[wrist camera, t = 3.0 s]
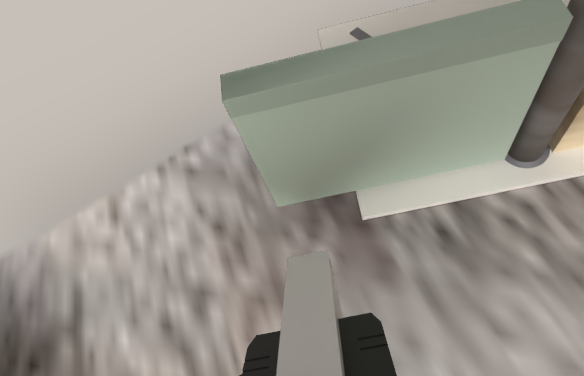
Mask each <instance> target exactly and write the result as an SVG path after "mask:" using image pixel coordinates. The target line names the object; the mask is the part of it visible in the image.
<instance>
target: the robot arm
mask: <svg viewBox="0 0 584 376" xmlns="http://www.w3.org/2000/svg"><path fill="white" fill-rule="evenodd" d="M240 376H397V375H396V372H395V368H394V365H393V361H392V358H391V355H390V351H389V348H388V344H387V341H386V337H385V334H384V330H383V327H382V324H381V321H380V320H378V319H377V318H376V317H375V316H374V315H373V314H372V313H367V314H362V315H357V316H351V317H346V318H343V313H342V309H341V304H340V300H339V296H338V292H337V287H336V283H335V279H334V274H333V270H332V266H331V262H330V257H329V253H328V250H325V251H320V252H315V253H310V254H305V255H300V256H295V257H291V258H288V261H287V271H286V281H285V291H284V302H283V312H282V322H281V331H277V332H272V333H267V334H261V335H256V337H255V338H254V339H253V341H252V342H251V344H250V345H249V346H248V348H247V353H246V357H245V363H244V367H243V373H242V375H240Z"/></svg>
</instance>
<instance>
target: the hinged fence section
mask: <svg viewBox="0 0 584 376" xmlns="http://www.w3.org/2000/svg"><path fill="white" fill-rule="evenodd" d="M572 19H573V16H572V14H571V13H570V12H569V10H568V9H567V7H566V6H565V4H564V3H563V1H562V0H520V1H516V2H512V3H508V4H504V5H500V6H496V7H492V8H488V9H484V10H480V11H476V12H472V13H468V14H464V15H460V16H456V17H452V18H448V19H444V20H440V21H436V22H432V23H428V24H424V25H419V26H415V27H411V28H407V29H403V30H399V31H395V32H391V33H387V34H383V35H379V36H375V37H371V38H367V39H363V40H359V41H355V42H351V43H347V44H343V45H339V46H335V47H331V48H327V49H323V50H319V51H314V52H310V53H307V54H302V55H298V56H294V57H291V58H286V59H283V60H278V61H274V62H270V63H266V64H263V65H258V66H254V67H250V68H246V69H242V70H238V71H234V72H230V73H226V74H222V75H220V78H221V91H222V102H223V104H224V106H225V108H226V110H227V112H228V114H229V116H230V118H231V119H232V120H233V122H234V124H235V126H236V128H237V130H238V132H239V134H240V136H241V138H242V140H243V142H244V143H245V145H246V147H247V149H248V151H249V153H250V155H251V157H252V159H253V161H254V163H255V165H256V166H257V168H258V170H259V172H260V174H261V176H262V178H263V180H264V182H265V184H266V186H267V188H268V190H269V191H270V193H271V195H272V197H273V199H274V201H275V203H276V205H277V207H281V206H286V205H290V204H295V203H300V202H305V201H309V200H314V199H319V198H324V197H328V196H333V195H338V194H343V193H347V192H352V191H357V190H362V189H366V188H371V187H376V186H381V185H385V184H390V183H395V182H400V181H404V180H409V179H414V178H419V177H423V176H428V175H433V174H438V173H442V172H447V171H452V170H457V169H461V168H466V167H471V166H476V165H480V164H485V163H490V162H495V161H499V160H504V159H505V157H506V155H507V153H508V151H509V149H510V147H511V145H512V143H513V141H514V138H515V136H516V134H517V132H518V130H519V128H520V126H521V124H522V122H523V119H524V117H525V115H526V113H527V111H528V109H529V107H530V105H531V103H532V100H533V98H534V96H535V94H536V92H537V90H538V88H539V86H540V84H541V81H542V79H543V77H544V75H545V73H546V71H547V69H548V67H549V65H550V62H551V60H552V58H553V56H554V54H555V52H556V50H557V48H558V46H559V44H560V41H562V40H563V37H564V35H565V33H566V31H567V29H568V27H569V25H570V23H571V21H572Z"/></svg>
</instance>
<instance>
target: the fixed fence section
mask: <svg viewBox="0 0 584 376" xmlns="http://www.w3.org/2000/svg"><path fill="white" fill-rule="evenodd" d="M567 9H568V10H569V12H570V13H571V14H572V16H573V19H572V21H571V23H570V25H569V27H568V29H567V31H566V33H565V35H564V37H563V40H562V41H560V44H559V46H558V48H557V50H556V52H555V54H554V56H553V58H552V60H551V62H550V65H549V67H548V69H547V71H546V73H545V75H544V77H543V79H542V81H541V84H540V86H539V88H538V90H537V92H536V94H535V96H534V98H533V100H532V103H531V105H530V107H529V109H528V111H527V113H526V115H525V117H524V119H523V122H522V124H521V126H520V128H519V130H518V132H517V134H516V136H515V138H514V141H513V143H512V145H511V147H510V149H509V151H508V154H509V155H510V156H511V157H512V158H513V159H515V160H517V161H520V162H533V161H536V160H537V159H539V158H540V157H541V156H542V154H543V153H544V151H545V149H546V148H547V146H548V144H549V145H550V147H551V151H552V153H555V152H560V151H564V150H569V149H574V148H579V147H583V146H584V0H570V1H569V4H568V6H567Z"/></svg>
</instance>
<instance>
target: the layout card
mask: <svg viewBox="0 0 584 376" xmlns="http://www.w3.org/2000/svg"><path fill="white" fill-rule="evenodd" d="M516 1H520V0H433V1H429V2H425V3H421V4H417V5H413V6H409V7H405V8H401V9H397V10H393V11H389V12H385V13H382V14H377V15H373V16H369V17H365V18H361V19H357V20H353V21H350V22H346V23H342V24H338V25H334V26H330V27H326V28H322V29H318V30H317V32H318V36H319V41H320V45H321V49H322V50H323V49H327V48H331V47H335V46H339V45H343V44H347V43H351V42H355V41H359V40H363V39H367V38H371V37H375V36H379V35H383V34H387V33H391V32H395V31H399V30H403V29H407V28H411V27H415V26H419V25H424V24H428V23H432V22H436V21H440V20H444V19H448V18H452V17H456V16H460V15H464V14H468V13H472V12H476V11H480V10H484V9H488V8H492V7H496V6H500V5H504V4H508V3H512V2H516ZM562 1H563V3H564V4H565V6H566V7H567V6H568V4H569V1H570V0H562ZM583 175H584V146H583V147H579V148H574V149H569V150H564V151H560V152H555V153H552V151H551V147H550V145H549V144H548V146H547V148H546V149H545V151H544V153H543V154H542V156H541V157H540V158H539V159H537V160H536V161H533V162H520V161H517V160H515V159H513V158H512V157H511V156H510V155H509V154H508V153H507V155H506V157H505V159H504V160H499V161H495V162H490V163H485V164H480V165H476V166H471V167H466V168H461V169H457V170H452V171H447V172H442V173H438V174H433V175H428V176H423V177H419V178H414V179H409V180H404V181H400V182H395V183H390V184H385V185H381V186H376V187H371V188H366V189H362V190H357V191H356V195H357V200H358V204H359V208H360V212H361V216H362V220H366V219H371V218H376V217H381V216H386V215H391V214H396V213H401V212H406V211H411V210H416V209H421V208H426V207H431V206H436V205H440V204H445V203H450V202H455V201H460V200H465V199H470V198H475V197H480V196H485V195H490V194H495V193H500V192H505V191H510V190H514V189H519V188H524V187H529V186H534V185H539V184H544V183H549V182H554V181H559V180H564V179H569V178H574V177H579V176H583Z"/></svg>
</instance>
